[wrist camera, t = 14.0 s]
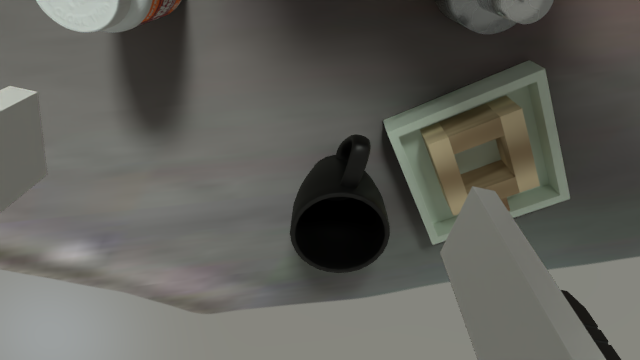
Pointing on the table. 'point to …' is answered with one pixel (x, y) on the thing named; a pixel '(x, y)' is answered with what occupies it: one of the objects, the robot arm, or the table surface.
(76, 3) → the pill bottle
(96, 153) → the table surface
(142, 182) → the table surface
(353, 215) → the mug
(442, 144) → the wooden rectangular frame
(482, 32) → the grey piece
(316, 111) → the table surface
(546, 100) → the tray
